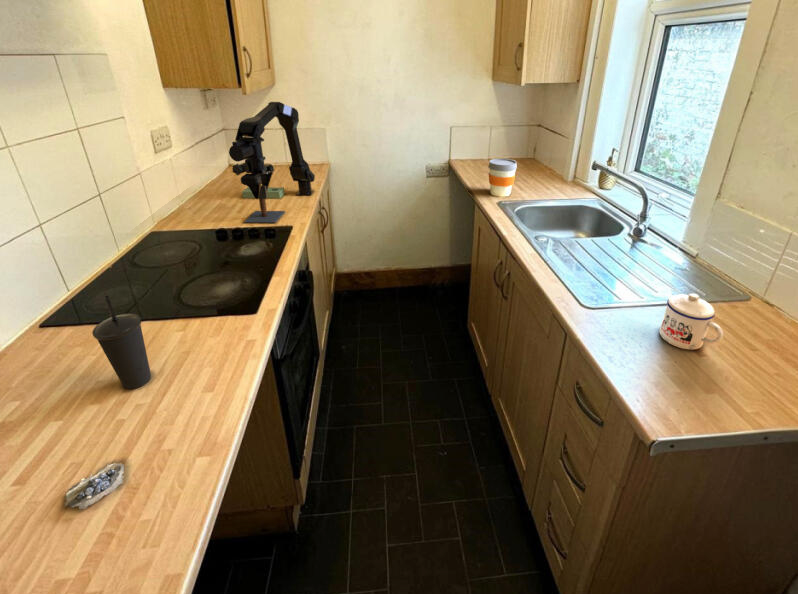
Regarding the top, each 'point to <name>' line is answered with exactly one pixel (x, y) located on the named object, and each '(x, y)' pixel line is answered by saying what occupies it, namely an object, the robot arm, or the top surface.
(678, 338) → the teacup with lid
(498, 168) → the reusable coffee cup
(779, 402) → the top surface
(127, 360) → the drinking cup
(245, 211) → the top surface
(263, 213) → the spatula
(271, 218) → the mat
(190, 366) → the top surface
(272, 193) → the rack
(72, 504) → the blueberries
